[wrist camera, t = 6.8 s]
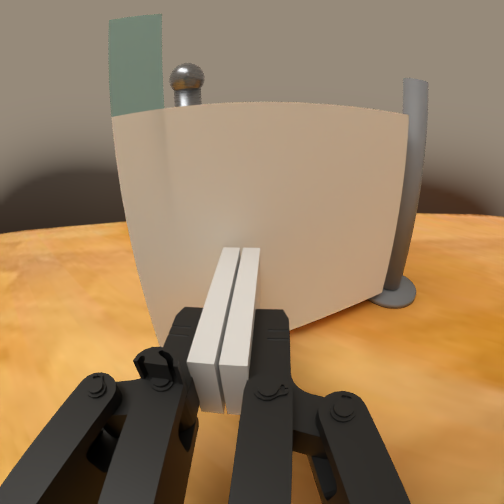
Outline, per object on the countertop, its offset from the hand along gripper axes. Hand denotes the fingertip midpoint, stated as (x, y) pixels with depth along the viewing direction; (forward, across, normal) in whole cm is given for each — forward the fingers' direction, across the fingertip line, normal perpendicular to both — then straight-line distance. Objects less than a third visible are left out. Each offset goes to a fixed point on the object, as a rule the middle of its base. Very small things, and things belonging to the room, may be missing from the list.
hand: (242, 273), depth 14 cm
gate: (+4, +4, -6) cm, 8 cm away
